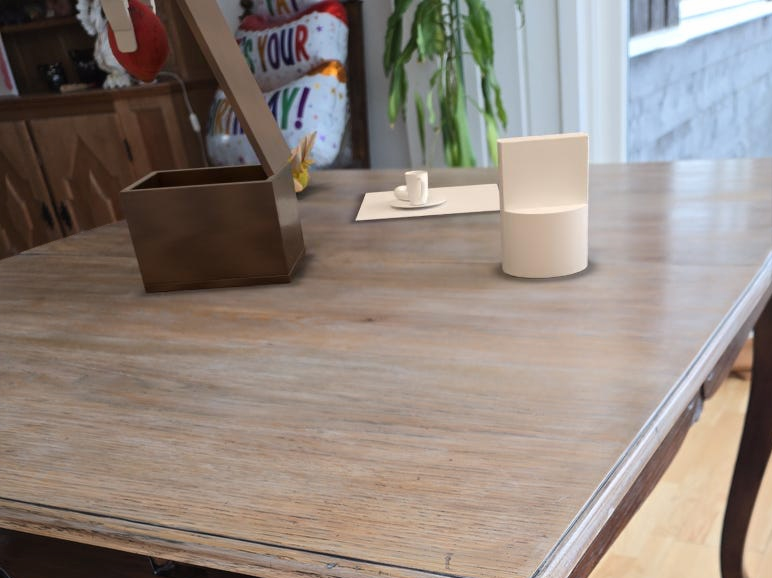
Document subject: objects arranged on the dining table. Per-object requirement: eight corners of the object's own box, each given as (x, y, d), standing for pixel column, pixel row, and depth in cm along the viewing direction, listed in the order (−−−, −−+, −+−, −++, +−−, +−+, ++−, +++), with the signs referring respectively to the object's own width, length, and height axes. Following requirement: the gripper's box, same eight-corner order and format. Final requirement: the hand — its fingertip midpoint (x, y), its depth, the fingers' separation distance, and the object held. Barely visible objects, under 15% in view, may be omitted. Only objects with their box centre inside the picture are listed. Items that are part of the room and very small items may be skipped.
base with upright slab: (506, 281, 90) (501, 147, 83) (498, 259, 98) (492, 135, 91) (594, 273, 91) (596, 139, 84) (579, 253, 98) (580, 128, 91)
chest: (145, 292, 95) (118, 192, 90) (175, 263, 106) (152, 171, 100) (290, 282, 95) (272, 181, 89) (306, 254, 105) (290, 161, 100)
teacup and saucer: (391, 200, 129) (388, 169, 127) (446, 196, 129) (444, 165, 127) (388, 212, 122) (384, 179, 120) (446, 208, 122) (443, 175, 120)
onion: (176, 83, 91) (155, -15, 86) (118, 88, 90) (92, -10, 85) (177, 79, 95) (157, -14, 90) (122, 84, 94) (98, -10, 89)
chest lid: (171, -8, 80) (178, -13, 80) (203, -8, 90) (209, -12, 90) (267, 177, 89) (274, 174, 89) (286, 158, 99) (293, 155, 99)
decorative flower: (254, 173, 146) (255, 104, 139) (323, 187, 146) (326, 119, 140) (230, 199, 134) (229, 125, 128) (304, 214, 135) (307, 141, 129)
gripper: (99, -116, 91) (138, 46, 99) (21, -139, 74) (76, 58, 82) (160, -121, 91) (194, 42, 99) (96, -145, 74) (143, 53, 82)
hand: (140, 49), depth 91 cm, fingers closed on onion, 6 cm apart
